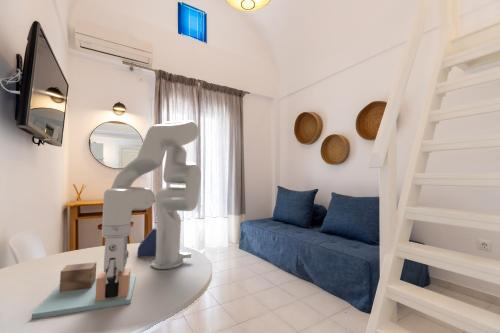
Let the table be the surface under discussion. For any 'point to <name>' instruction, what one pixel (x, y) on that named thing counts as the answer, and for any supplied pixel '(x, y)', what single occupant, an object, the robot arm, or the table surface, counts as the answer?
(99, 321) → the table surface
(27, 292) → the table surface
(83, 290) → the board
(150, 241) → the blue angular block
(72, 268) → the walnut brick
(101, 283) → the terracotta brick
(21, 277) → the table surface
